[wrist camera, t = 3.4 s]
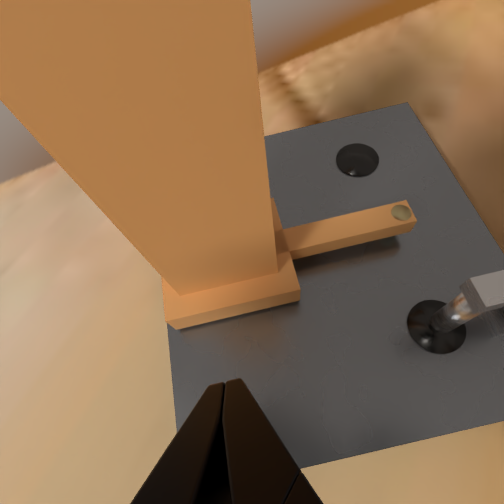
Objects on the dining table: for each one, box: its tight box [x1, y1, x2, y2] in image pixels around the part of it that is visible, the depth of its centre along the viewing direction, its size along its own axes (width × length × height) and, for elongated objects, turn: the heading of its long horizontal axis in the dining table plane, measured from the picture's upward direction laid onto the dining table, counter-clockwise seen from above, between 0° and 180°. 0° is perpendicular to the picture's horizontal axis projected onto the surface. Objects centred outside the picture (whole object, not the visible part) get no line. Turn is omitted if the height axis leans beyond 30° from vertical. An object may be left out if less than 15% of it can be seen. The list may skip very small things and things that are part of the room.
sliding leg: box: [0, 0, 417, 330], centre depth 10 cm, size 5×12×16 cm, turn 102°
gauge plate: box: [167, 102, 504, 469], centre depth 15 cm, size 18×16×6 cm
